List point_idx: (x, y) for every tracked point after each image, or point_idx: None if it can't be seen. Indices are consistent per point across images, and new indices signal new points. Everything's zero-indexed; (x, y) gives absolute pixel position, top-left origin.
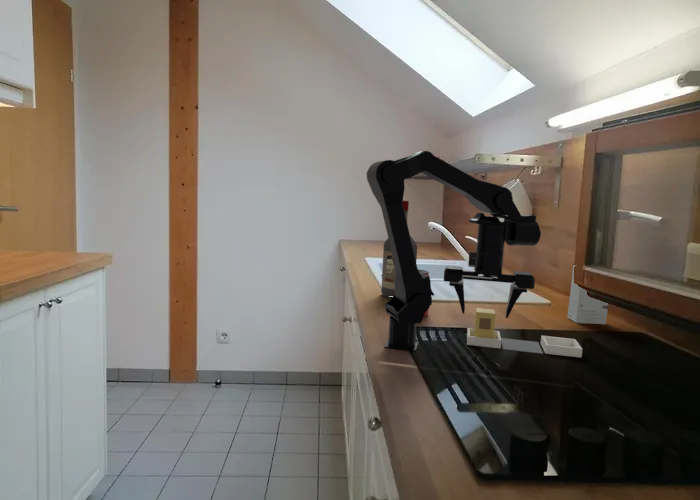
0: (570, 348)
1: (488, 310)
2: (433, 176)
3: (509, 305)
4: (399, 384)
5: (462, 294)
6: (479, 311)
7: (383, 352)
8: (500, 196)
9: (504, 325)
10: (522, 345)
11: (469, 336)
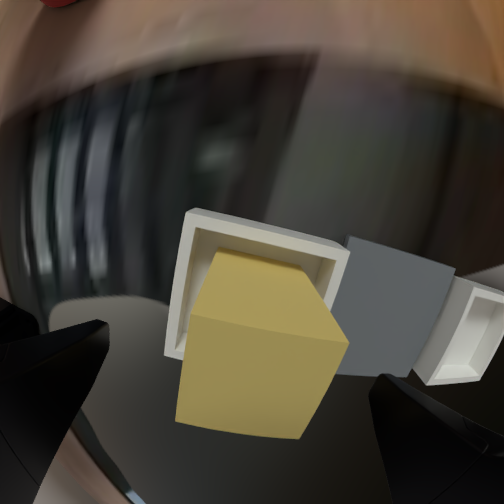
0: (463, 381)
1: (282, 380)
2: None
3: (389, 474)
4: (76, 469)
5: (36, 471)
6: (199, 409)
7: None
8: None
9: (409, 33)
10: (390, 321)
11: (172, 355)
